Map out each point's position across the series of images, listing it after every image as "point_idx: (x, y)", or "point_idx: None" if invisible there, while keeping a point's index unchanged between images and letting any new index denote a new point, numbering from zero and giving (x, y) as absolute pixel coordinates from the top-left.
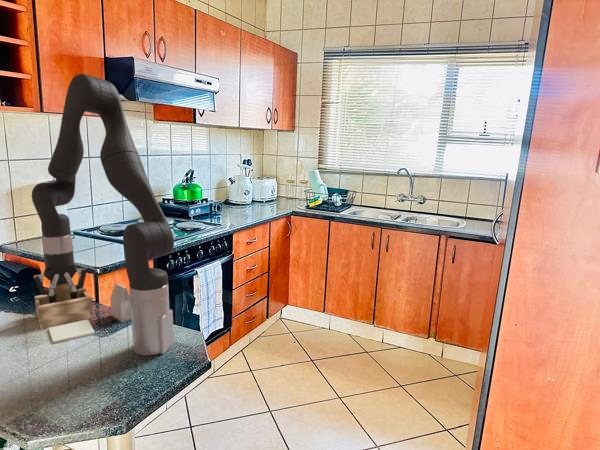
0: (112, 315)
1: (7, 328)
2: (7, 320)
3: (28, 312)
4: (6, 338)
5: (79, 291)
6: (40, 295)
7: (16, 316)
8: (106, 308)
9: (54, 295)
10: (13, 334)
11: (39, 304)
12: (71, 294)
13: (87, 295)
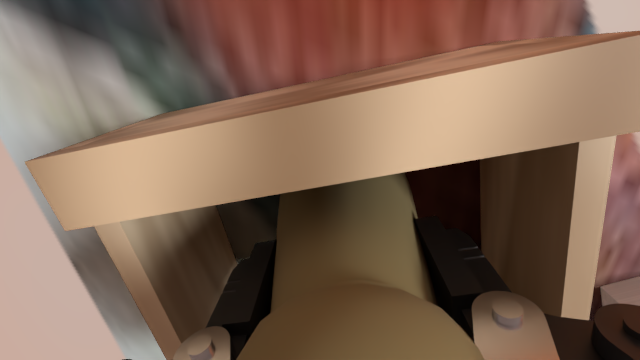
0: (604, 297)
1: (70, 245)
2: (2, 124)
3: (75, 10)
4: (121, 345)
5: (544, 140)
6: (88, 165)
7: (24, 68)
8: (618, 159)
9: (252, 195)
10: (134, 320)
11: (165, 321)
12: (440, 301)
13: (586, 263)
